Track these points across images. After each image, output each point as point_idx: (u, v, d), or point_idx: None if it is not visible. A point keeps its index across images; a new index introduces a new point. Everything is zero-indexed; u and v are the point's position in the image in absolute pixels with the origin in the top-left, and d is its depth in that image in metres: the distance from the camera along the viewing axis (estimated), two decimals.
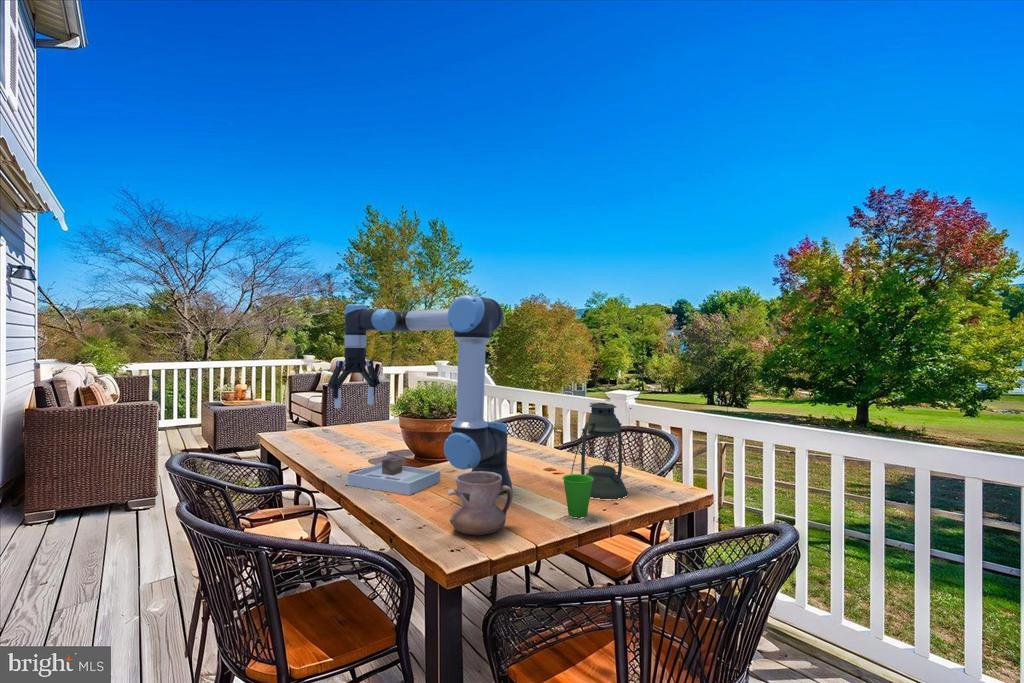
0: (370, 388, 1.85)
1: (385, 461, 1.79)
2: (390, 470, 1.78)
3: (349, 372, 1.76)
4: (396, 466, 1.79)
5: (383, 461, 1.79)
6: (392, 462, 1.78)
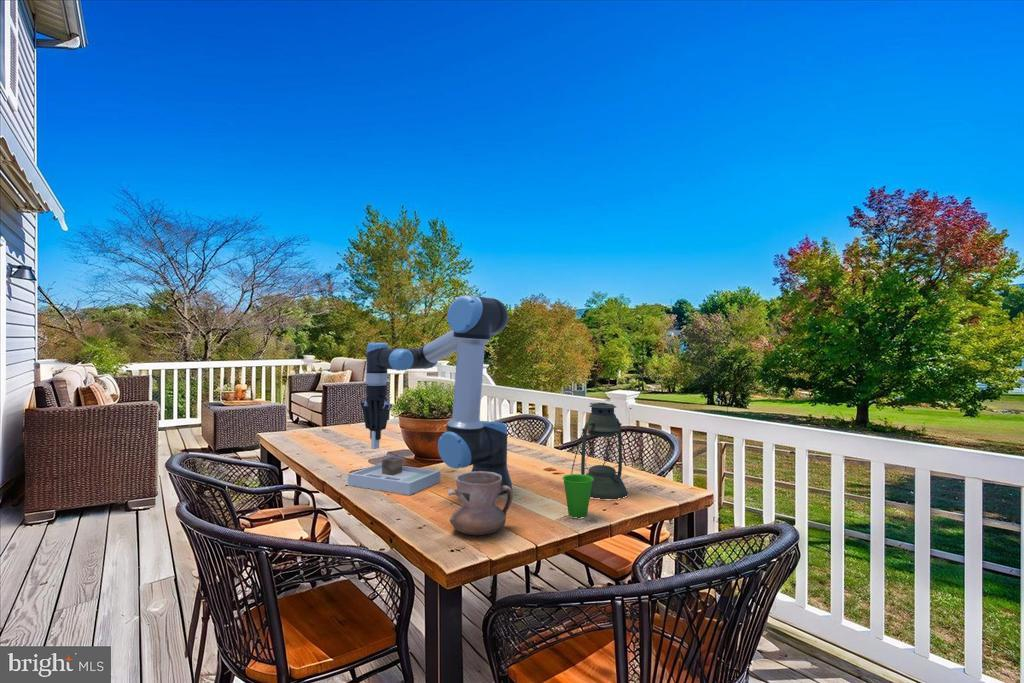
0: None
1: (385, 461, 1.79)
2: (390, 470, 1.78)
3: (370, 410, 1.83)
4: (396, 466, 1.79)
5: (383, 461, 1.79)
6: (392, 462, 1.78)
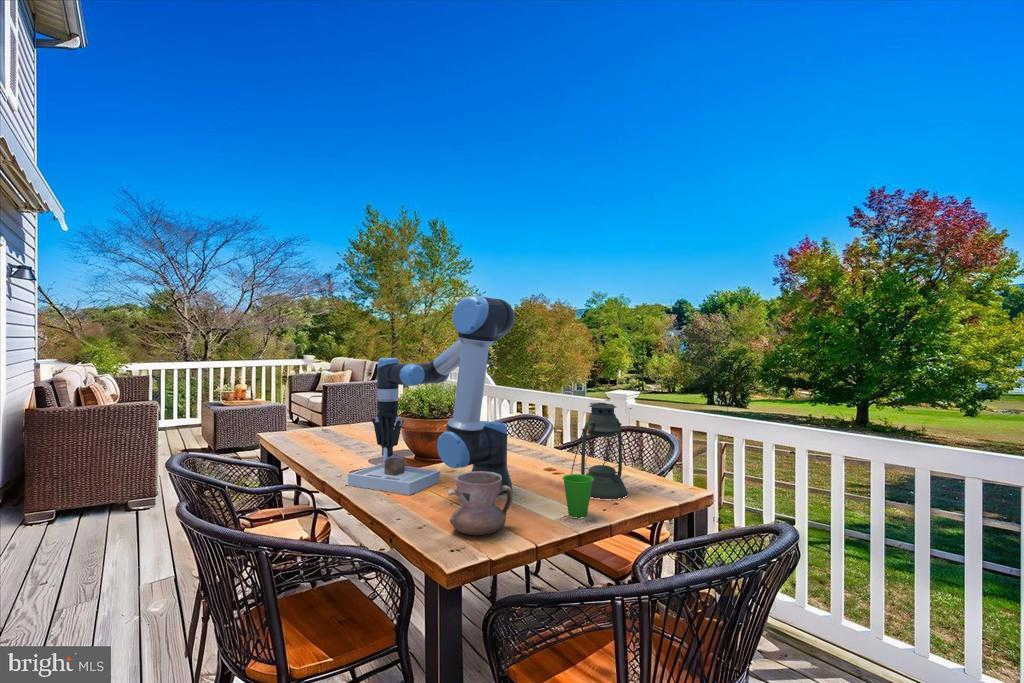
0: None
1: (387, 461, 1.79)
2: (393, 470, 1.78)
3: (381, 427, 1.81)
4: (399, 466, 1.79)
5: (385, 461, 1.79)
6: (395, 462, 1.77)
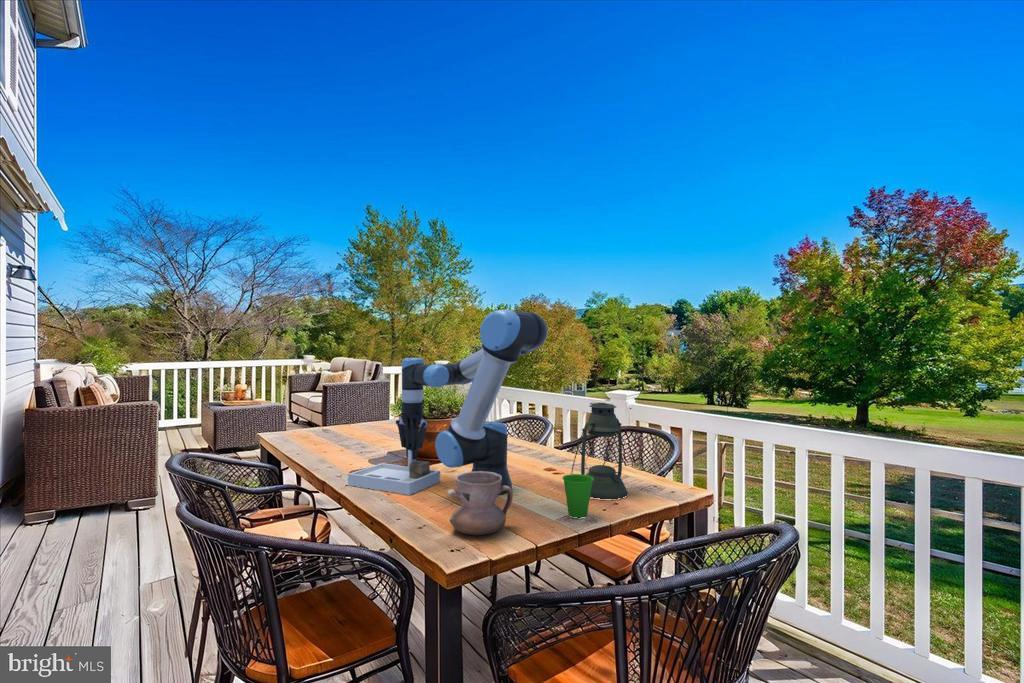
0: None
1: (413, 465, 1.74)
2: (418, 474, 1.73)
3: (406, 429, 1.76)
4: (424, 470, 1.74)
5: (410, 465, 1.74)
6: (420, 466, 1.73)
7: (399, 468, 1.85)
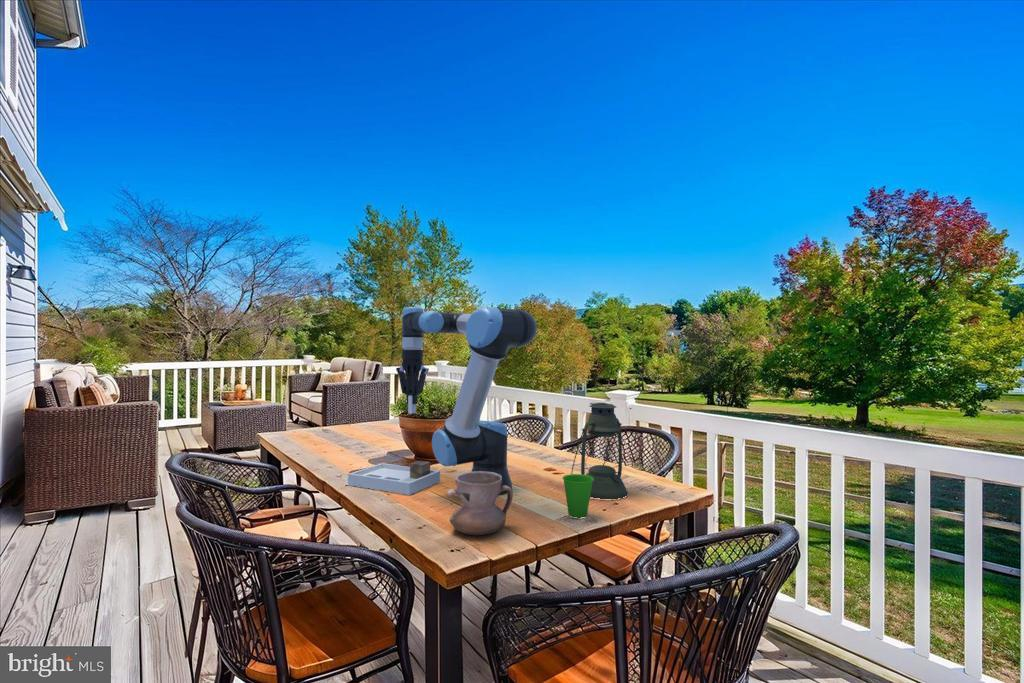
0: None
1: (413, 465, 1.74)
2: (419, 474, 1.73)
3: (406, 375, 1.83)
4: (425, 470, 1.74)
5: (411, 465, 1.74)
6: (421, 466, 1.73)
7: (399, 468, 1.85)
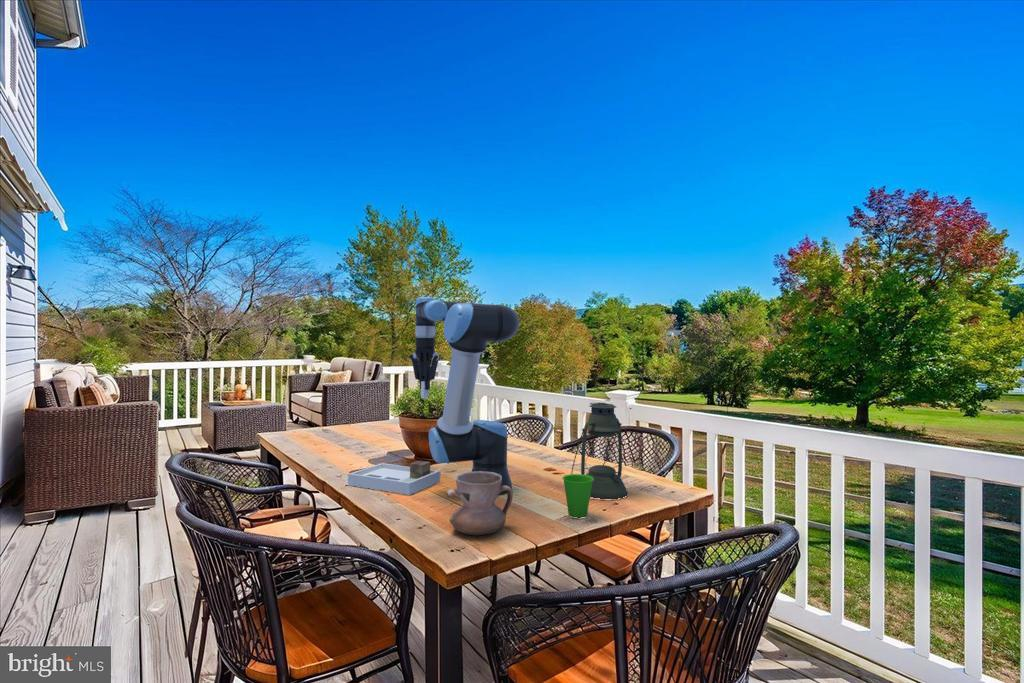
0: None
1: (413, 465, 1.74)
2: (419, 474, 1.73)
3: (419, 362, 1.93)
4: (425, 470, 1.74)
5: (411, 465, 1.74)
6: (421, 466, 1.73)
7: (399, 468, 1.85)
